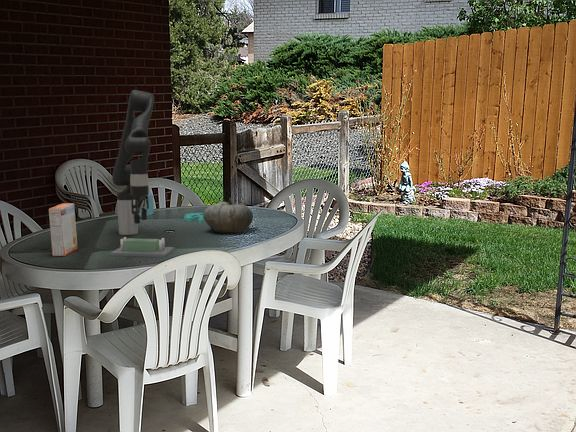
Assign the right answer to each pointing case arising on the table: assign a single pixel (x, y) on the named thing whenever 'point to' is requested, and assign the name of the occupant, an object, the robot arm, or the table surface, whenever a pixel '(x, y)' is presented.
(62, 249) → the cracker box
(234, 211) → the gourd
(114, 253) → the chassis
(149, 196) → the light blue block
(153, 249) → the green rectangular block
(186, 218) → the alien figure
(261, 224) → the table surface
